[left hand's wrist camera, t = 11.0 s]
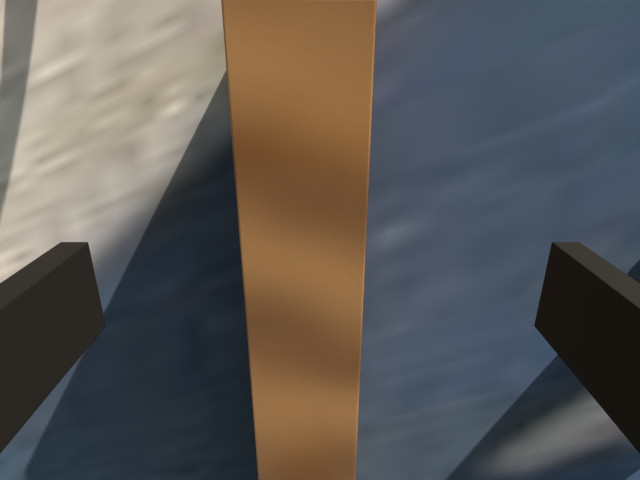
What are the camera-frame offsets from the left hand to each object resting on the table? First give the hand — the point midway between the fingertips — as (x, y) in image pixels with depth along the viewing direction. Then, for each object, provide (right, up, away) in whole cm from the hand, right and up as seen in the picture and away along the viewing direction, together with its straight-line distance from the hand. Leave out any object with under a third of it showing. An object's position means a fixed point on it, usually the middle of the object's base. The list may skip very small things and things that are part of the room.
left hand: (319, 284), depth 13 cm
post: (-1, -21, +23) cm, 31 cm away
